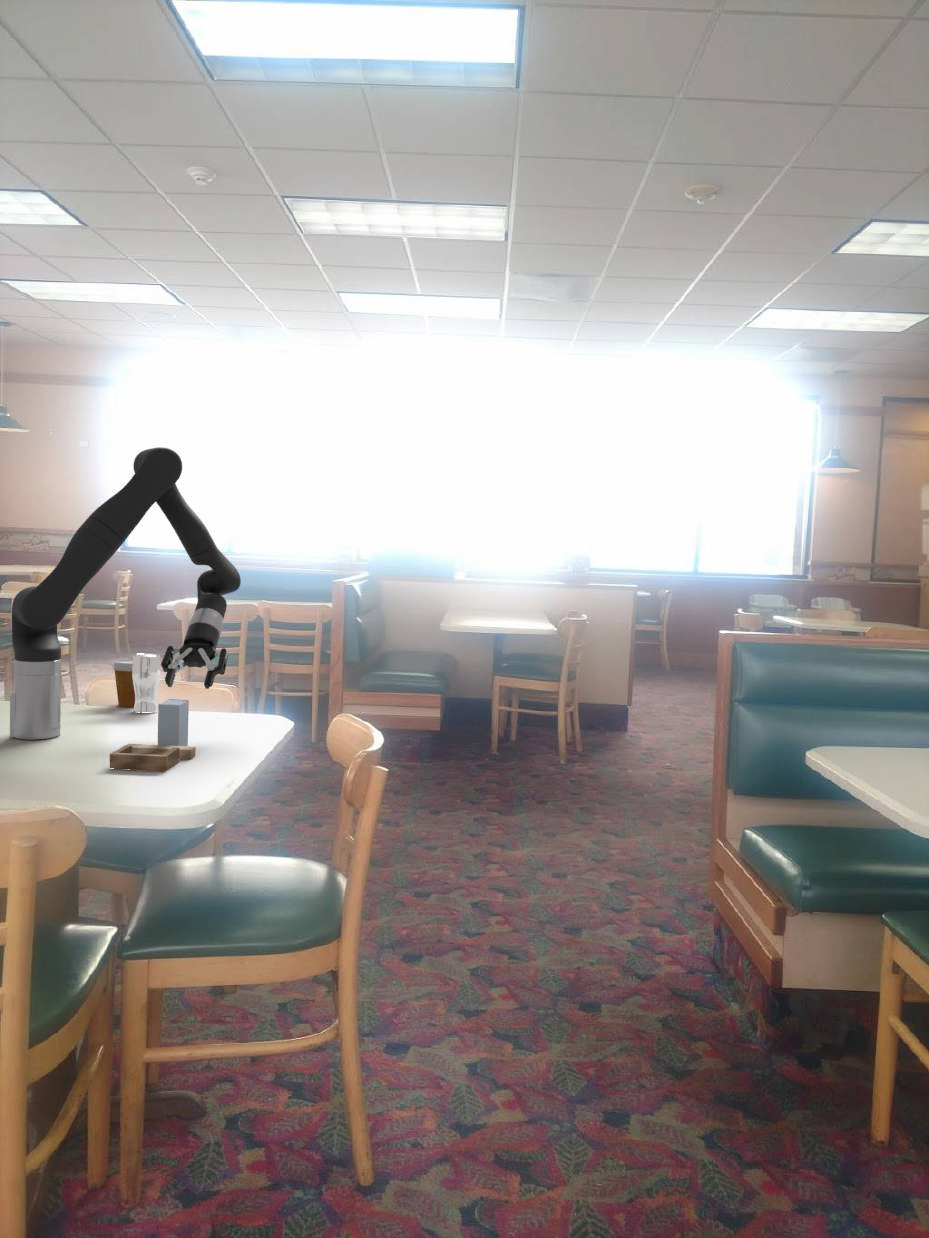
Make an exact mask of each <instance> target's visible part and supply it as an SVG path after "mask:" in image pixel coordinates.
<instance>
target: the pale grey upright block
mask: <svg viewBox="0 0 929 1238" xmlns="http://www.w3.org/2000/svg"><path fill="white" fill-rule="evenodd" d="M189 705H190V701H189V699H175V698H174V699H172V698H170V699H167V700H164V701H162V702H160V703H157V707H158V712H157V745H170V746H188V745H189V743H188V742H189V711H190V710H189Z"/></svg>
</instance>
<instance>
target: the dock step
mask: <svg viewBox="0 0 929 1238" xmlns="http://www.w3.org/2000/svg"><path fill="white" fill-rule="evenodd" d="M126 745H132V754H154V755H163V754H164V753H166V752H167V751H169V750H170V749H172V748H173V747H177V748H179V760H192V759H194V758H196V746H191V745H190V746H188V745H187V746H170V745H158V744H149V743H148V744H143V743H127V744H126Z"/></svg>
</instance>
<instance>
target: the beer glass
mask: <svg viewBox="0 0 929 1238" xmlns="http://www.w3.org/2000/svg"><path fill="white" fill-rule="evenodd" d="M132 659H133V663H132V679H133V686H134V692H135V704H134V707H133V709H132V712H133V713H134V712H140V713H142V712H155V711H158V702H157V701H158V700H157V697H158V689H159V686H160V679H161V672H162V671H161V670H162V669H161V668H162V666H161V655H160V654H159V653H136V654H133V656H132Z"/></svg>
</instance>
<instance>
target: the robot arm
mask: <svg viewBox="0 0 929 1238" xmlns="http://www.w3.org/2000/svg"><path fill="white" fill-rule="evenodd" d="M133 472H134V474H133V476H132V477H131V479H130V480H129V481H128V482H127V483H126V484H125V485H124V486H123V487H122V488H121V489H120V490H119V491H118V492H117V493H114V495H112V496H111V497H110V498H108V499H107V500H106V501H104V502H103V503H102V504H101V505H100V506H98V507H97V508H96V509H95V510H94V511H93V512H92V513H91V514H90V515H89V516H88V517H87V518H86V519H85V520H84V522H83V523H82V524H81V525H80V526H79V527H78V528H77V530H76V532H75V533H74V534H73V536H72V537H71V539H70V541H69V542H68V544H67V546H66V548H65V549H64V550H65V551H64V553H63V555H62V557H61V559H60V561H59V562H58V563H57V565H55V567H54V568H53V570H52V571H51V572H50V573H49V574H48V575H47V576H46V577H45V578H44V579H43V581H41V582H40V583H39V584H38V585H37V586H29V587H28V586H27V587H25V588H24V589H21V590H20V591H19V592H18V593H17V594H16V595H15V597H14V599H13V602H12V606H11V642H12V647H13V653H14V659H13V660H14V664H13V665H14V666H13V667H14V668H13V669H14V675H13V676H14V677H13V678H14V687H13V688H14V689H13V691H14V692H12V693H11V694H10V696H9V737H10V738H14V739H18V740H29V741H30V740H33V741H34V740H45V739H53V738H56V737H59V736H60V735H61V715H62V712H61V710H62V709H61V703H62V701H61V700H62V699H61V698H62V697H61V695H62V694H61V693H62V692H61V691H62V648H61V645H60V642H59V638H58V637H59V636H58V625H59V624H60V623H61V622H62V621H63V619H64V618H65V616H66V615H67V613H68V612H69V610H70V609H71V607H72V605H73V604H74V602H75V601H76V600H77V599H78V596H79V595H80V594H81V592H82V591H83V590H84V588H85V587H86V585H87V584H88V583H89V582H90V581H91V580H92V579H93V578H94V577H95V576H96V575H97V574H98V572H100V571H101V570H102V568H103V567H104V566H105V565H106V563H108V561H110V559H111V558H112V557H114V555H115V554H116V552H117V551H118V550H119V549H120V548H121V546H122V545H123V544H124V543H125V541H126V540H128V538H129V536H130V535H131V533H132V532H133V531H134V529H136V527H137V526H138V525H139V523H141V521H142V519H143V518H144V517H145V515H146V513H148V511H149V510H150V508H151V507H152V506H153V505H154V504H155V503H156V505H158V507H159V509H160V510H161V511H162V513H163V514H164V516H165V517H166V519H167V520H168V522H169V524H170V525H171V526H172V528H173V529H172V530H174V532H175V534H176V536H177V537H178V539H179V541H180V543H181V545H182V546H183V548H184V551H185V552H186V554H187V556H188V557H189V559H190V561H191V562H192V563H193V564H194V565H196V566H208V567H209V568H210V569H209V570H205V571H204V572H202V573H200V575H199V576H198V578H197V581H196V588H197V594H196V595H197V603H196V606H195V609H194V612H193V615H192V617H191V619H190V621H189V624H188V627H187V630H186V633H185V636H184V639H183V644H182V646H181V647H180V648H174V646H172V645H169V646H167V648H166V651H165V653H164V656H163V658H162V660H161V662H160V667H161V668H162V669H161V670H162V671H163V672H164V673H166V674H165V677H164V681H165V685H167V687H168V688H172V687H173V684H174V681H175V677H176V674H177V673H178V672H179V671H183V670H184V669H185V668H187V667H188V668H203V667H205V668H206V670H207V672H206V675H205V679H204V682H203V685H204V688H205V689H207V690H210V688H211V687H212V686H213V684H214V682H215V678H216V676H217V675H220V676H222V675H225V673H226V669H227V668H226V667H227V664H228V659H229V655H228V651H227V648H221V649H220V650H216V649H217V646H218V643H219V640H220V637H221V635H222V629H223V624H224V623H223V622H224V617H225V614H226V611H227V606H228V605H227V599H226V598H224V597H223V596H224V595H228V594H231V593H234V592H236V591H238V590H239V588H240V586H241V584H242V583H241V582H242V581H241V575H240V572H239V571H238V569H237V568H236V567H235V565H234V564H233V563H232V562H231V561H230V560H229V559H228V558H227V557H226V556H225V554H224V553H223V552H221V550H220V549H219V548H218V547H217V545H216V543H215V541H214V539H213V538H212V536H211V534H210V532H209V530H208V529H207V526H206V525H205V523H204V522H203V521H202V520H201V518H200V517H199V516H198V515H197V514H196V512H195V511H194V510H193V508H191V507H190V505H189V504H188V503H187V502H186V500H185V498H184V497H183V496H182V494H181V492H180V491H179V490H180V489H178V487H177V481H179V479H180V477H181V475H182V472H183V462H182V458H181V457H180V454H178V452H177V451H175V450H174V449H171V448H168V447H164V446H159V447H158V446H157V447H153V448H152V447H151V448H147V449H144V450H141V451H140V452H139V453H138V454H136V456H135V458H134V459H133ZM216 657H217V659H218V663H217V666H215V665H214V664H213V663H212V661H213V660H214V659H215V658H216ZM173 660H174V661H173Z"/></svg>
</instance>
